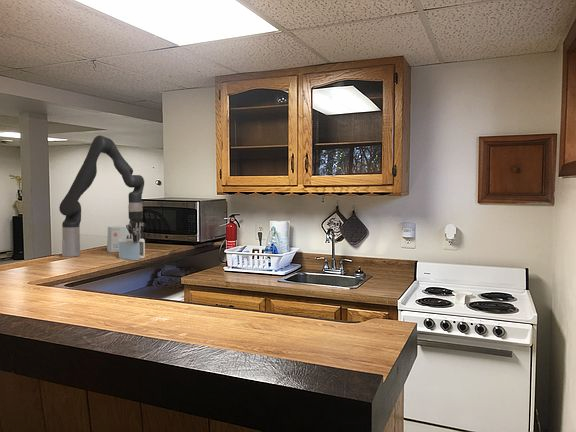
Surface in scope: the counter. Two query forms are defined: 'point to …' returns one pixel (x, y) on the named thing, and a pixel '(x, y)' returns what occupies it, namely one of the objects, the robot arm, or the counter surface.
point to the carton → (142, 245)
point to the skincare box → (116, 237)
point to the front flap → (129, 250)
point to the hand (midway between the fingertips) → (136, 240)
